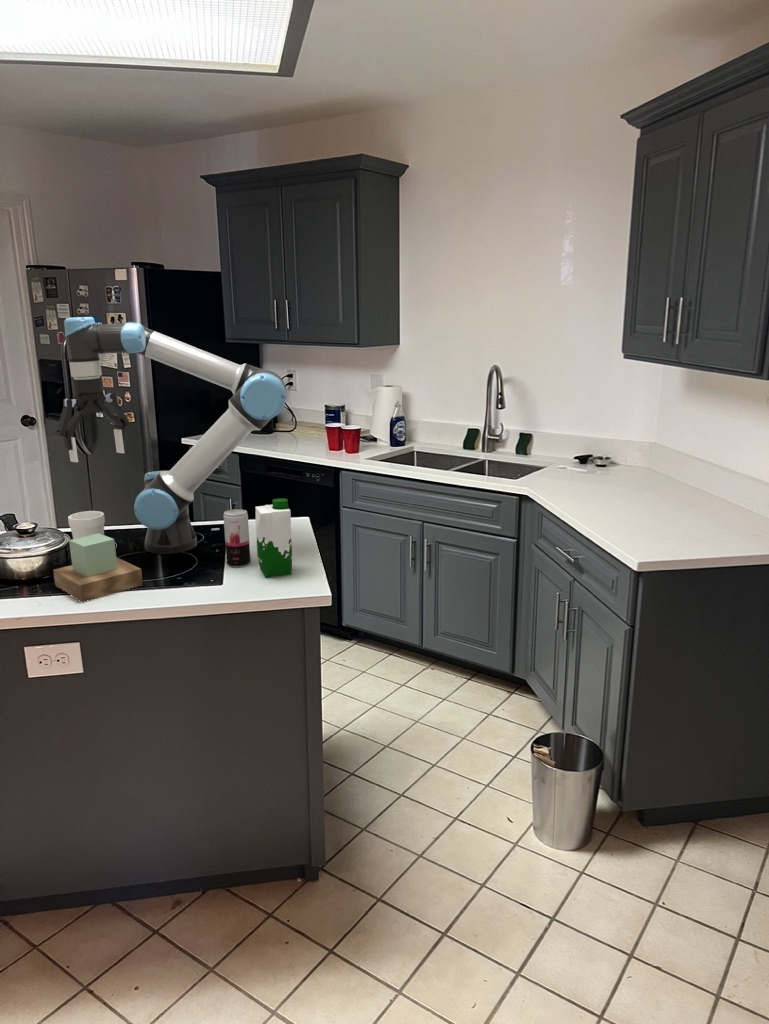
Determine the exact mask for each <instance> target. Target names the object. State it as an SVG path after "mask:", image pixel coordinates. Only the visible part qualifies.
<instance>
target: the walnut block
mask: <svg viewBox="0 0 769 1024" xmlns="http://www.w3.org/2000/svg"><path fill="white" fill-rule="evenodd" d="M116 560H117V569H115V570H111V571H108V572H104V573H100V574H97V575H93V576H90V577H87V576H85V575H82V574H80V573H78V572H76V571H74V570H73V567H72V564H71V565H68V566H62V567H58V568H55V569H52V570H53V579H54V585H55V587H56V588H58V589H59V588H60V589H59V590H61V589H62V590H61V591H63V592H64V591H65V592H64V593H66V592H67V593H68V595H69V594H70V595H69V596H71V595H72V596H74V597H75V598H74V597H73V598H74V599H76V598H77V599H78V601H79V600H80V601H79V602H80V603H85V602H84V601H86V602H88V601H87V600H89V601H92V600H91V599H93V600H96V599H100V598H104V597H107V596H110V594H111V595H114V594H117V592H118V593H121V592H125V591H127V589H128V590H131V589H130V588H132V589H135V588H138V586H139V587H142V586H143V584H144V583H143V582H144V581H143V574H142V568H140V567H138V566H136V565H134V564H131V563H129V562H128V561H125V560H124V559H121V558H119V557H117V556H116ZM134 587H135V588H134ZM124 590H125V591H124ZM67 593H66V594H67ZM72 596H71V597H72ZM99 597H100V598H99ZM95 598H96V599H95ZM77 599H76V600H77Z"/></svg>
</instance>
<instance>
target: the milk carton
mask: <svg viewBox="0 0 769 1024" xmlns="http://www.w3.org/2000/svg"><path fill="white" fill-rule="evenodd" d="M271 502H272V504H264V505H259V506H255V507H254V508H255V536H256V551H257V552H256V554H257V560H258V565H259V570H260V572H261V573H262V575H263V576H264V578H265V579H268V578H276V577H277V578H278V577H283V576H285V577H286V576H291V575H293V546H292V545H293V543H292V521H291V519H292V516H291V515H292V514H291V513H292V512H291V509H290V507H289V500H288V498H284V497H277V498H273V499H272V501H271Z"/></svg>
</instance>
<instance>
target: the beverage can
mask: <svg viewBox="0 0 769 1024" xmlns="http://www.w3.org/2000/svg"><path fill="white" fill-rule="evenodd" d="M223 528H224V542H225V544H224V546H225V558H226V559H225V560H226V565H227V566H229V567H230V568H231V567H232V568H244V567H247V566H249V565H250V564H251V548H250V530H249V528H250V526H249V514H248V511H247V509H242V508H240V509H238V508H237V509H236V508H235V509H229V510H226V511H223Z"/></svg>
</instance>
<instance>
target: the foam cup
mask: <svg viewBox="0 0 769 1024" xmlns="http://www.w3.org/2000/svg"><path fill="white" fill-rule="evenodd" d="M67 518H68V520H67V521H68V526H69V527H70V528H69V529H70V531H71V535H72V539H76V538H80V537H85V536H89V535H93V534H97V533H100V534H102V535H105V522H106V520H105V513H104V512H102V511H99V510H88V511H87V510H86V511H78V512H76V513H72V514H70V515H68V517H67Z"/></svg>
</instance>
